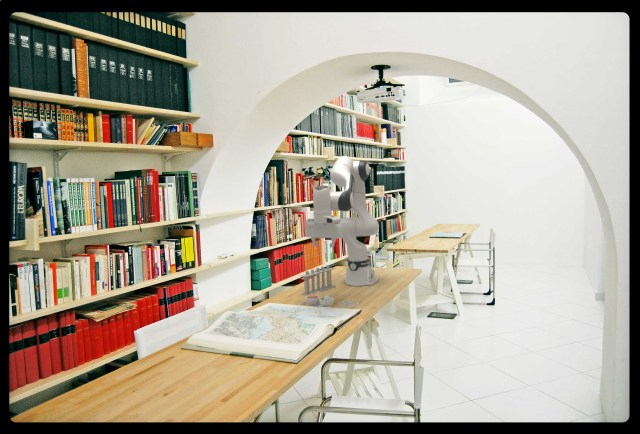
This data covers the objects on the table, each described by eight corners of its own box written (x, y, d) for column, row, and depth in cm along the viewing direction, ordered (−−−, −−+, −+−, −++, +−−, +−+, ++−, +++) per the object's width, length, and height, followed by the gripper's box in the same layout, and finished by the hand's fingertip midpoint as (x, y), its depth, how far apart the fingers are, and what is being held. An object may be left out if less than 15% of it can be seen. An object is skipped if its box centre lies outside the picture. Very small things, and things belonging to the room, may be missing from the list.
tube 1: (311, 299, 249) (310, 294, 248) (322, 301, 245) (321, 296, 245) (303, 302, 243) (303, 297, 243) (314, 304, 239) (314, 299, 239)
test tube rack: (306, 296, 257) (305, 272, 256) (300, 295, 260) (299, 271, 259) (335, 287, 276) (334, 264, 275) (329, 286, 279) (328, 263, 278)
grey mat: (342, 301, 244) (342, 300, 243) (360, 303, 238) (360, 303, 238) (336, 304, 238) (336, 303, 238) (354, 307, 233) (354, 306, 233)
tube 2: (324, 301, 244) (323, 296, 244) (335, 302, 240) (335, 297, 240) (316, 304, 239) (316, 299, 238) (328, 306, 235) (328, 301, 235)
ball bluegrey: (320, 302, 239) (323, 295, 238) (325, 300, 242) (327, 293, 241) (327, 306, 237) (329, 299, 236) (331, 304, 240) (333, 297, 239)
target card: (310, 300, 249) (310, 299, 249) (335, 303, 241) (335, 302, 241) (299, 305, 240) (299, 304, 240) (325, 308, 232) (325, 307, 232)
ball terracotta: (307, 302, 243) (306, 295, 243) (311, 301, 247) (310, 293, 247) (313, 302, 241) (312, 294, 241) (318, 300, 244) (317, 293, 244)
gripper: (301, 219, 239) (302, 246, 240) (337, 219, 228) (338, 248, 229) (308, 218, 244) (310, 244, 245) (343, 218, 233) (344, 246, 234)
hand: (323, 246), depth 237 cm, fingers open, 8 cm apart
